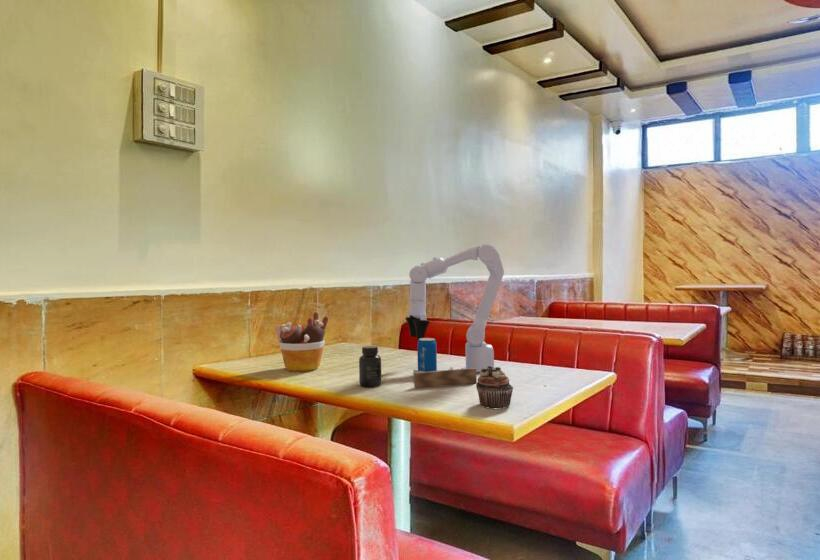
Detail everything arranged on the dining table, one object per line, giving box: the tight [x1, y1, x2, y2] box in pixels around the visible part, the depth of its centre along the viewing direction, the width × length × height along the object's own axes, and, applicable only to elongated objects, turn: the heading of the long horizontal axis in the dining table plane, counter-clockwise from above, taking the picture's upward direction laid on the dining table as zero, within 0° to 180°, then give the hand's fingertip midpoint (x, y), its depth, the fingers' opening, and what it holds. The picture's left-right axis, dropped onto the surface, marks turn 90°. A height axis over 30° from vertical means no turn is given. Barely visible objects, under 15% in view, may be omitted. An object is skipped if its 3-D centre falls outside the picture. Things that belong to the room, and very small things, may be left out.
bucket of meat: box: [274, 312, 329, 373], centre depth 198 cm, size 20×16×20 cm
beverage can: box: [416, 337, 438, 372], centre depth 185 cm, size 6×6×12 cm
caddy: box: [412, 366, 478, 389], centre depth 174 cm, size 20×13×4 cm, turn 107°
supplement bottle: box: [358, 345, 382, 389], centre depth 169 cm, size 7×7×12 cm
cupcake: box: [475, 366, 514, 409], centre depth 144 cm, size 10×10×10 cm
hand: (416, 338), depth 193 cm, fingers open, 7 cm apart
